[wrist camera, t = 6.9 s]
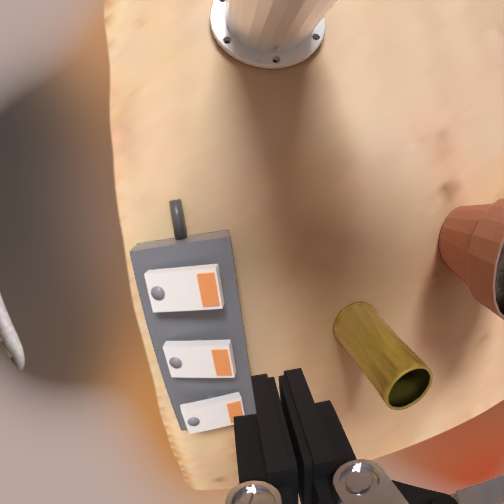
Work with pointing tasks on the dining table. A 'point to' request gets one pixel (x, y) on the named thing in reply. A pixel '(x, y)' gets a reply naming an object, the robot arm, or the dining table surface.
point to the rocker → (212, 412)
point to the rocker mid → (200, 359)
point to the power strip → (195, 312)
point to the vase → (382, 356)
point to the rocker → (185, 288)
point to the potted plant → (477, 251)
